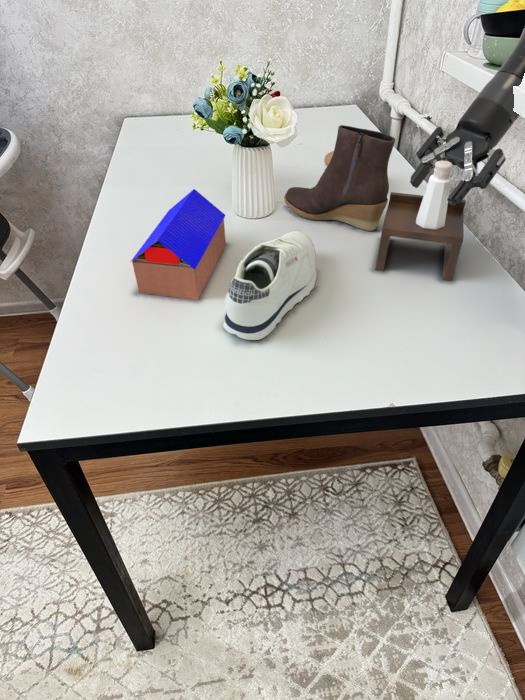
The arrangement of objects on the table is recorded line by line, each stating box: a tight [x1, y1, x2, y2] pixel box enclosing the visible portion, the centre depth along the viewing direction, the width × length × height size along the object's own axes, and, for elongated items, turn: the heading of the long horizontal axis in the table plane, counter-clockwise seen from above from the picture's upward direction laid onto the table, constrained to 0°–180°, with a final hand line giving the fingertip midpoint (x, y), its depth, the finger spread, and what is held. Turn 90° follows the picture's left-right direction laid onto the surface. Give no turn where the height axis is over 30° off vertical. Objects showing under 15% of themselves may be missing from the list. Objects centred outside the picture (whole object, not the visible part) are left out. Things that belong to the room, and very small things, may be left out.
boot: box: [284, 124, 396, 232], centre depth 104 cm, size 9×24×20 cm, turn 58°
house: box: [130, 188, 227, 301], centre depth 92 cm, size 12×20×12 cm, turn 168°
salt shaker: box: [416, 161, 453, 230], centre depth 86 cm, size 5×5×11 cm
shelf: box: [375, 191, 467, 282], centre depth 94 cm, size 14×12×10 cm
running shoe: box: [222, 230, 318, 341], centre depth 85 cm, size 11×29×12 cm, turn 158°
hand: (431, 193), depth 85 cm, fingers open, 8 cm apart
